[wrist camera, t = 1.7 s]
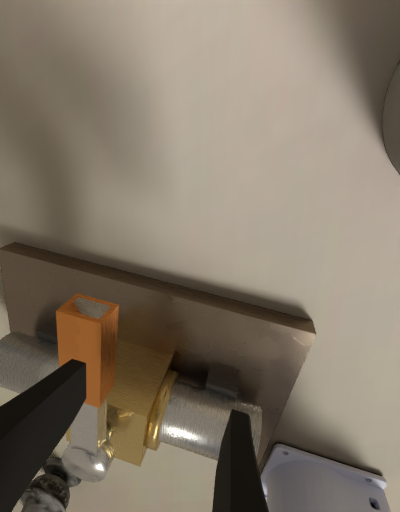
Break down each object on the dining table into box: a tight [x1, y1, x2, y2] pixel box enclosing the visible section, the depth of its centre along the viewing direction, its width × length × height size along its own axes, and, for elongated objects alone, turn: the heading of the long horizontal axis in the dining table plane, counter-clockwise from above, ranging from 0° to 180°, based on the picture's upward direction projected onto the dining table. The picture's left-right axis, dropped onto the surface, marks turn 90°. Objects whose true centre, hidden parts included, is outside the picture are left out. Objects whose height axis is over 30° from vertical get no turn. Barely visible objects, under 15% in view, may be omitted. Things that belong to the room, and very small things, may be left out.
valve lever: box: [56, 293, 119, 482], centre depth 15 cm, size 12×3×2 cm, turn 171°
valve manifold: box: [0, 242, 316, 467], centre depth 21 cm, size 24×16×8 cm, turn 81°
